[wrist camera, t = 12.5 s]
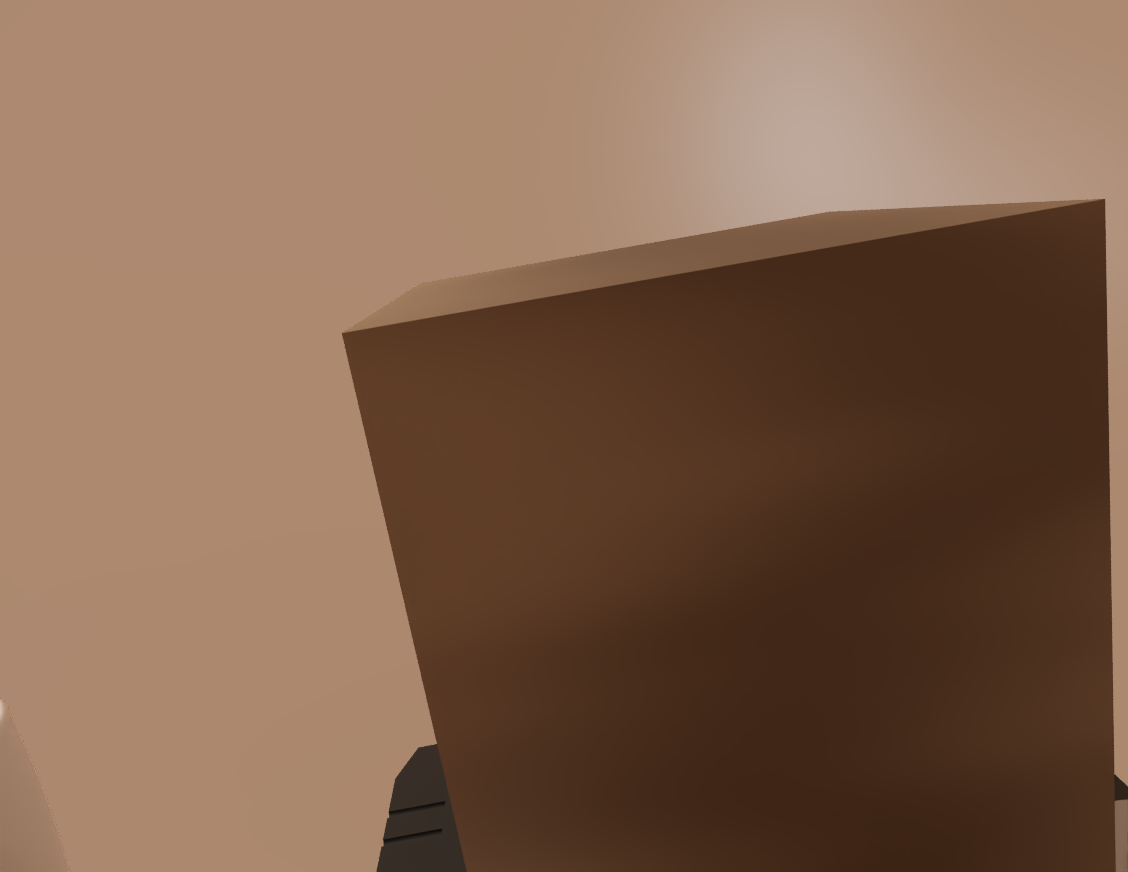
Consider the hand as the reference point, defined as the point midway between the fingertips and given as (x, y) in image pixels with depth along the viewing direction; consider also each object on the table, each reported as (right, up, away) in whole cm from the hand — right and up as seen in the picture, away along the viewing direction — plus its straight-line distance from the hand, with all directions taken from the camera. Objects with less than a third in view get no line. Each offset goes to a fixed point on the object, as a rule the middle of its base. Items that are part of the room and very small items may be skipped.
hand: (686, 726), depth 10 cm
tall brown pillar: (+2, -9, -1) cm, 9 cm away
